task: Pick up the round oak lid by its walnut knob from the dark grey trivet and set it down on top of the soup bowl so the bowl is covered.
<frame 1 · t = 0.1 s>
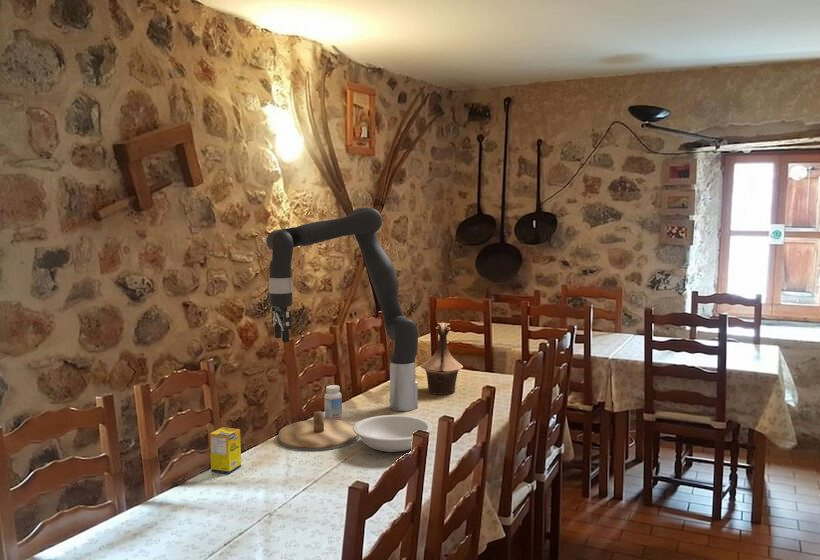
hand: (281, 340, 218), 29 cm above the table, fingers open, 8 cm apart
lid: (318, 434, 210), point 1 cm above the table, touching trivet
supplement box: (226, 470, 183), on the table
soup bowl: (392, 448, 200), on the table
pill bottle: (333, 418, 229), on the table
pot with conical top: (441, 392, 264), on the table
trivet: (318, 436, 210), on the table
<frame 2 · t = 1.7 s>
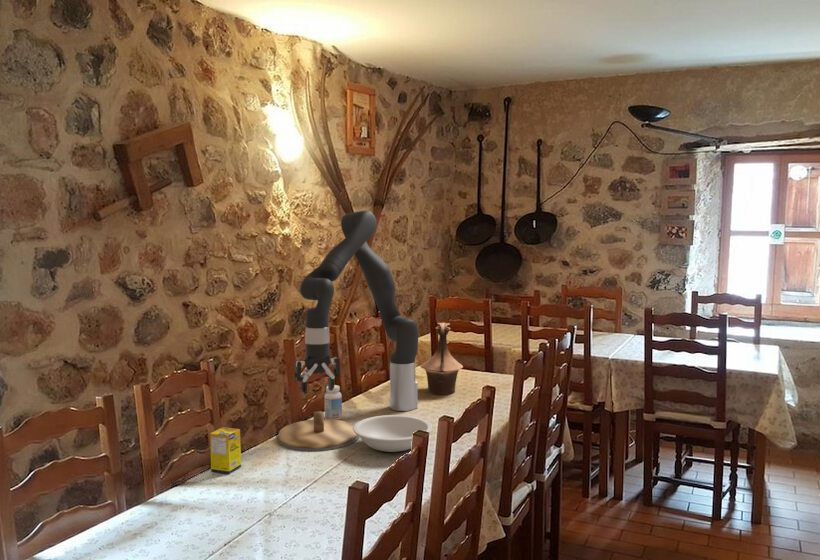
hand: (317, 391, 209), 15 cm above the table, fingers open, 8 cm apart
nothing on the table moved.
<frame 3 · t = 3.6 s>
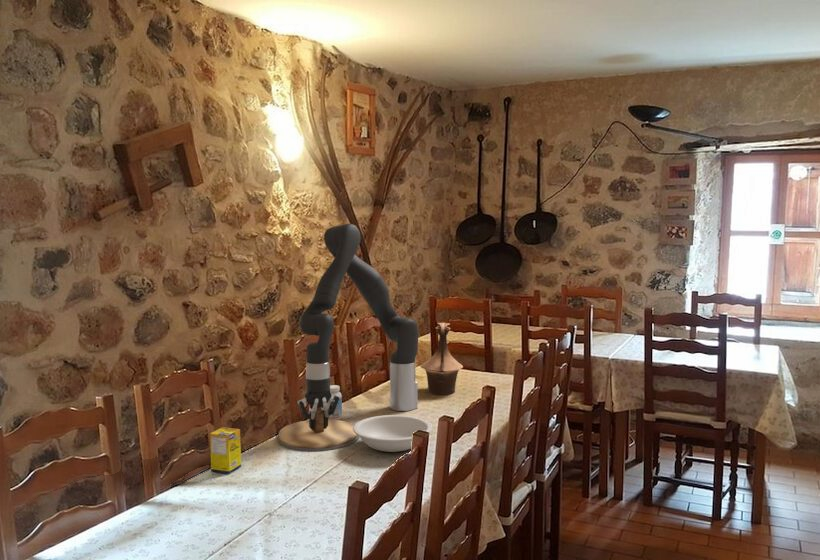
hand: (318, 428, 210), 3 cm above the table, fingers closed on lid, 3 cm apart
lid: (318, 434, 210), point 1 cm above the table, touching gripper, trivet
everything else where it was.
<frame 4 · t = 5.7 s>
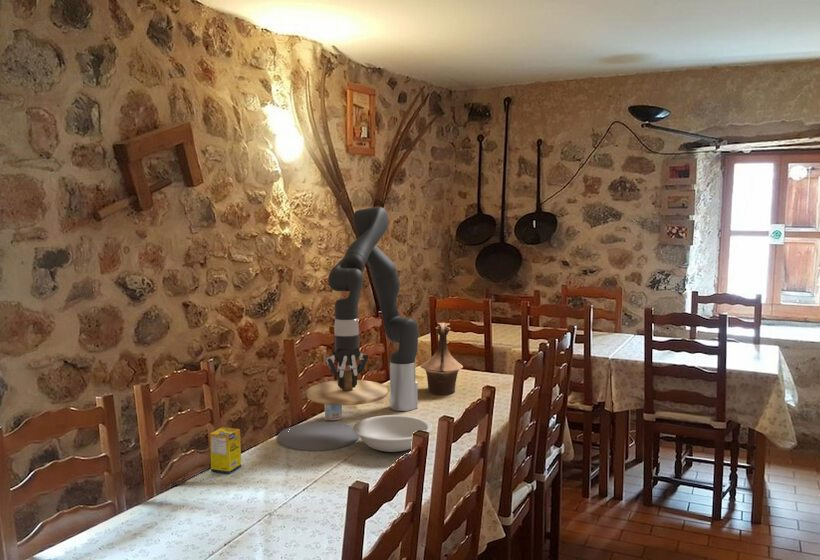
hand: (347, 387, 205), 17 cm above the table, fingers closed on lid, 3 cm apart
lid: (347, 393, 205), point 15 cm above the table, touching gripper
everything else where it was.
when the fingers open (10 cm above the table, at t = 8.2 s): lid drops 2 cm, resting on soup bowl.
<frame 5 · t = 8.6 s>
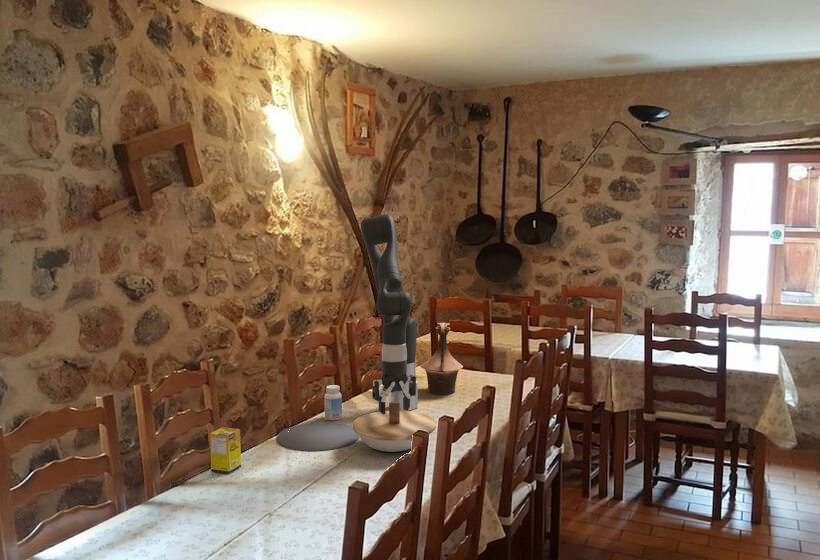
hand: (394, 411, 199), 11 cm above the table, fingers open, 7 cm apart
lid: (394, 426, 200), point 7 cm above the table, touching soup bowl
soup bowl: (392, 448, 200), on the table, touching lid
everything else where it was.
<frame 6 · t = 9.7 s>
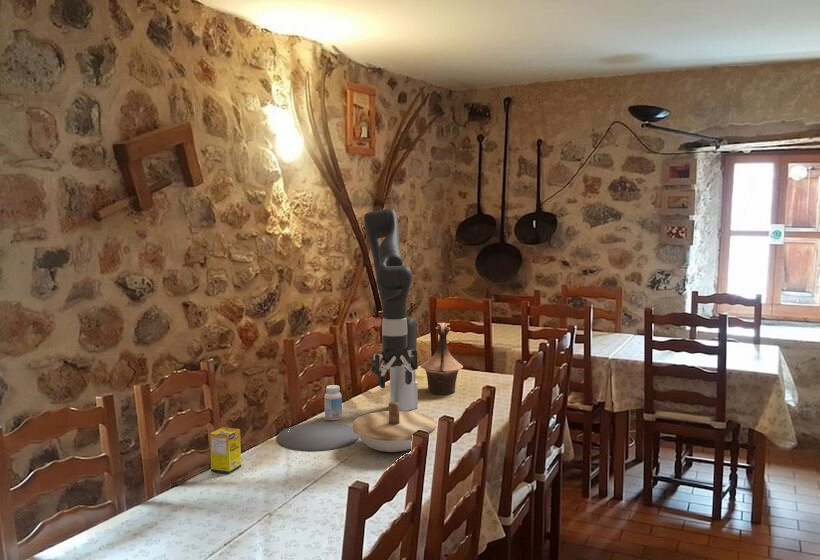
hand: (395, 385, 198), 19 cm above the table, fingers open, 8 cm apart
nothing on the table moved.
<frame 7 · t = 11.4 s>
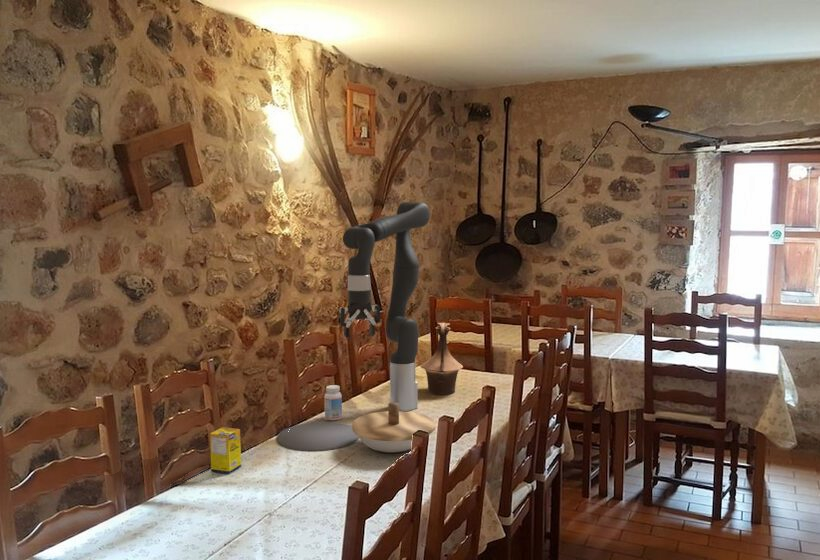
hand: (359, 337, 218), 30 cm above the table, fingers open, 8 cm apart
nothing on the table moved.
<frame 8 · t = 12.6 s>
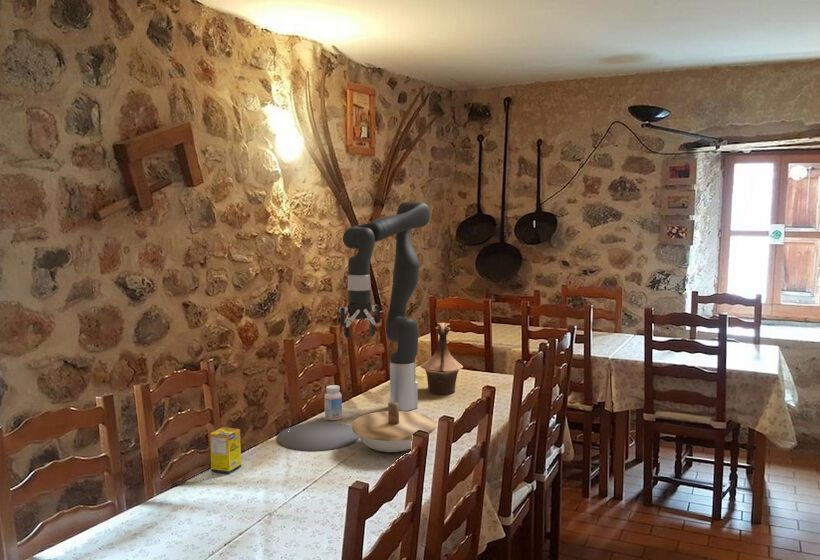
hand: (359, 337, 218), 30 cm above the table, fingers open, 8 cm apart
nothing on the table moved.
at the end: lid 0.5 cm from the soup bowl (horizontally); lid point 6.3 cm above the table; lid tilted 0° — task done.
